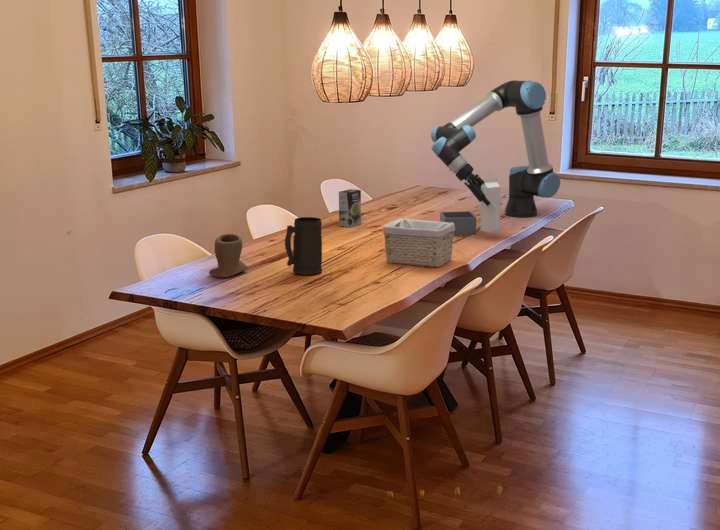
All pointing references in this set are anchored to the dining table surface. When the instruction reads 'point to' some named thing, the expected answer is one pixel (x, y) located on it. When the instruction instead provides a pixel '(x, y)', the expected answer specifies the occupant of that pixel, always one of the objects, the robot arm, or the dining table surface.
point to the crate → (460, 222)
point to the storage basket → (419, 242)
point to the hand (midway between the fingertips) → (498, 208)
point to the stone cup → (228, 256)
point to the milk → (488, 218)
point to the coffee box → (349, 208)
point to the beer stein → (305, 245)
